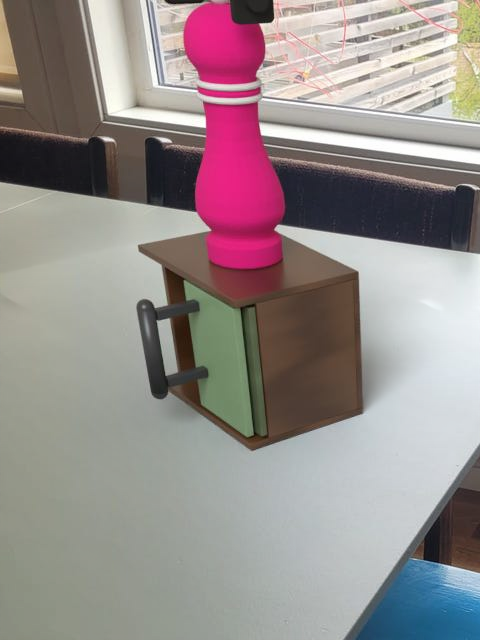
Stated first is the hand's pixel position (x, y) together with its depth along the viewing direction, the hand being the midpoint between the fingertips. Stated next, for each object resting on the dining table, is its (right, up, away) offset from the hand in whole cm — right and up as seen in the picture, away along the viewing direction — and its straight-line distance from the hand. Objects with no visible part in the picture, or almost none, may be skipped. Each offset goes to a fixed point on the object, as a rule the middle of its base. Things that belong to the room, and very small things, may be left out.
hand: (217, 12), depth 73 cm
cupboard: (0, -23, +20) cm, 31 cm away
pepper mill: (-1, -14, +11) cm, 18 cm away
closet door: (-5, -28, +13) cm, 31 cm away
